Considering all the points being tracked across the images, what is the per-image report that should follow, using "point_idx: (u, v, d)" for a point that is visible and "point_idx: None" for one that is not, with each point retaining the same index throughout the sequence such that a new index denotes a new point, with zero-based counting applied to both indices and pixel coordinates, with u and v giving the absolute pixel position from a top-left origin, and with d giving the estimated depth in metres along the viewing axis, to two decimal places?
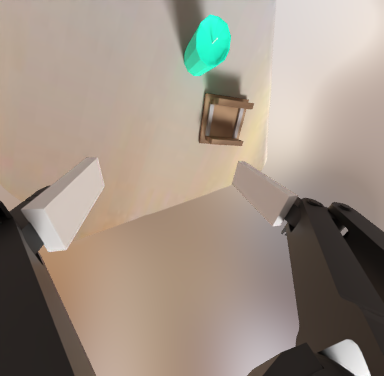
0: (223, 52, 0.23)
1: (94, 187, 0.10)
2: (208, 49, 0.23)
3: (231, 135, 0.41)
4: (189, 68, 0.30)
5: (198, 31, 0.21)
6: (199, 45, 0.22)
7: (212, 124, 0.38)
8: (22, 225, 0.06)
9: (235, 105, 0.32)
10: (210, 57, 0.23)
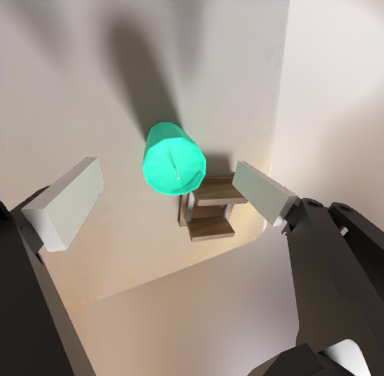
0: (195, 176, 0.14)
1: (94, 187, 0.10)
2: (169, 176, 0.14)
3: (220, 214, 0.32)
4: None
5: (146, 161, 0.12)
6: (152, 175, 0.13)
7: (194, 207, 0.29)
8: (22, 225, 0.06)
9: (222, 203, 0.23)
10: (174, 184, 0.14)
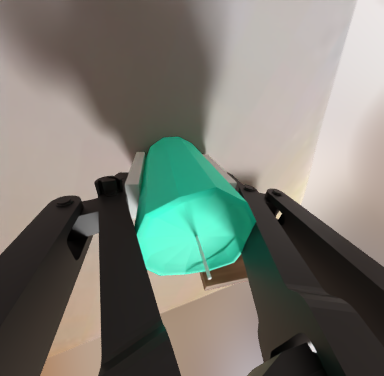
0: (230, 242, 0.08)
1: None
2: (184, 248, 0.07)
3: None
4: None
5: (139, 238, 0.06)
6: (153, 251, 0.07)
7: None
8: None
9: None
10: (192, 257, 0.08)
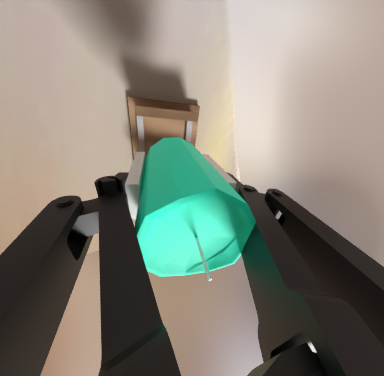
0: (230, 243, 0.08)
1: None
2: (184, 249, 0.07)
3: None
4: None
5: (139, 239, 0.06)
6: (153, 252, 0.07)
7: (148, 141, 0.26)
8: None
9: (166, 116, 0.20)
10: (192, 258, 0.08)
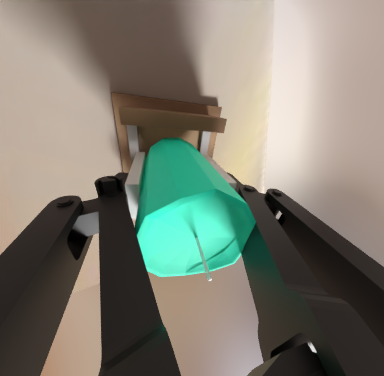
0: (230, 243, 0.08)
1: None
2: (184, 250, 0.07)
3: None
4: None
5: (139, 239, 0.06)
6: (153, 252, 0.07)
7: (145, 159, 0.18)
8: None
9: (175, 125, 0.12)
10: (192, 258, 0.08)
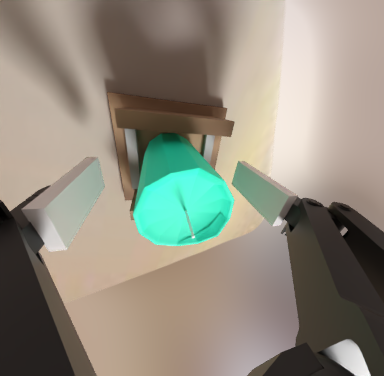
0: (215, 218, 0.09)
1: (94, 187, 0.10)
2: (175, 222, 0.09)
3: None
4: None
5: (139, 207, 0.07)
6: (150, 222, 0.08)
7: None
8: (23, 225, 0.06)
9: (177, 128, 0.11)
10: (182, 231, 0.09)
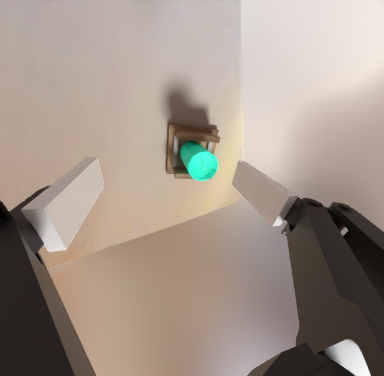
0: (212, 170, 0.27)
1: (94, 187, 0.10)
2: (199, 170, 0.27)
3: None
4: None
5: (190, 162, 0.25)
6: (191, 169, 0.26)
7: (179, 155, 0.35)
8: (22, 225, 0.06)
9: (198, 139, 0.29)
10: (200, 174, 0.27)
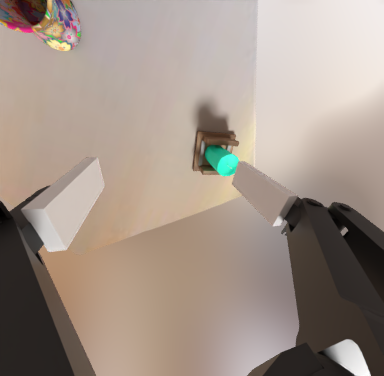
0: (234, 168, 0.36)
1: (94, 187, 0.10)
2: (224, 168, 0.35)
3: None
4: None
5: (219, 162, 0.34)
6: (219, 167, 0.35)
7: (204, 155, 0.43)
8: (22, 225, 0.06)
9: (222, 144, 0.37)
10: (225, 171, 0.36)
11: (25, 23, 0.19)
